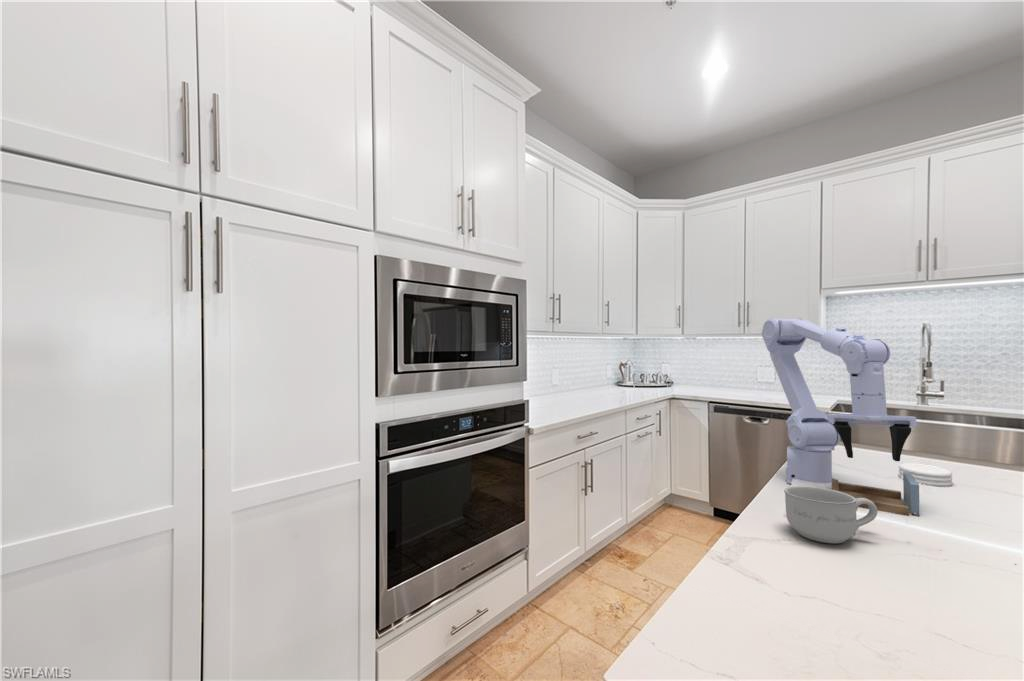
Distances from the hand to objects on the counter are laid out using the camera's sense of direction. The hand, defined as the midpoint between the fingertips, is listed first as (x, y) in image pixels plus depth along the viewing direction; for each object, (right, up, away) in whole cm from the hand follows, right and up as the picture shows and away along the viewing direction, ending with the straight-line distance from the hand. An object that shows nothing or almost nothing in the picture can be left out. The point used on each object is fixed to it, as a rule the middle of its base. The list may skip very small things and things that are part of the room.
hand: (872, 458), depth 90 cm
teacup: (-19, -11, -14) cm, 26 cm away
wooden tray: (-1, -11, +1) cm, 11 cm away
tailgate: (+5, -9, -3) cm, 11 cm away
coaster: (+30, -11, +19) cm, 37 cm away
